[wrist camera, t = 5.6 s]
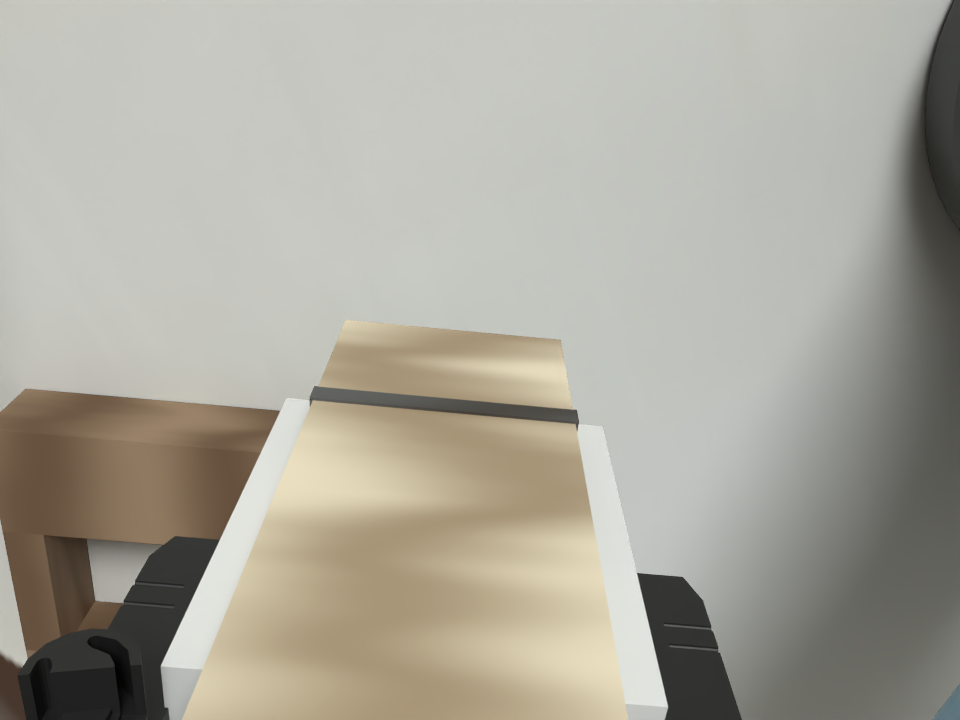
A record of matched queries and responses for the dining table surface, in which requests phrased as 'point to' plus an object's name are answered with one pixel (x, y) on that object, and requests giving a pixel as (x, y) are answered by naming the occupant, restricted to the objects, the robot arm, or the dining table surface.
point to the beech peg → (424, 547)
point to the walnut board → (110, 490)
